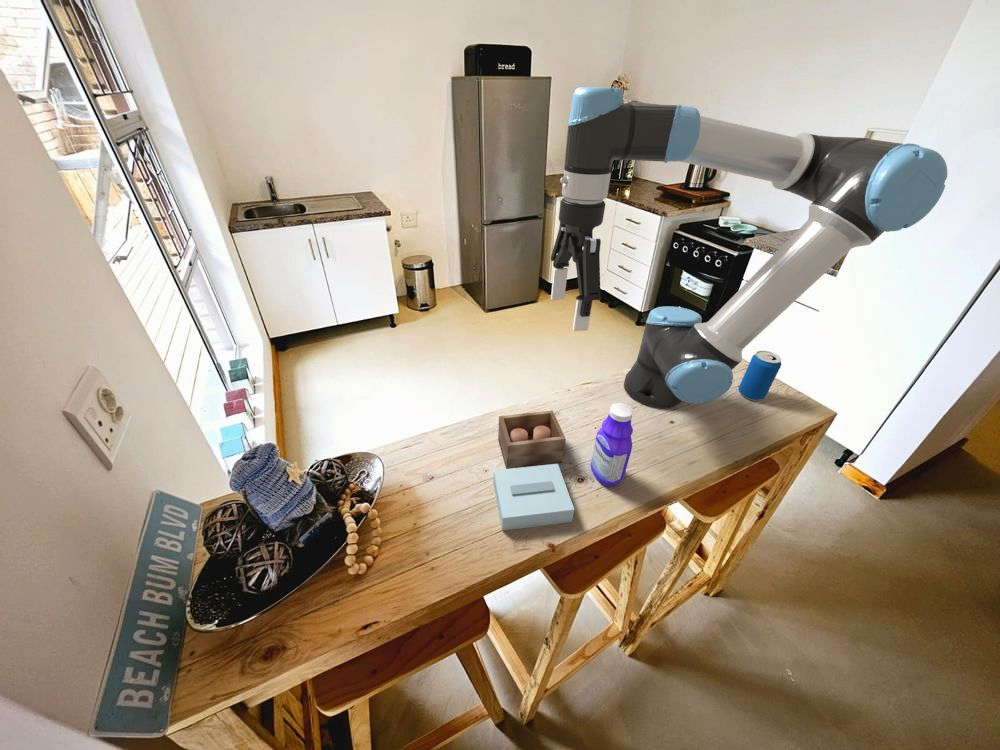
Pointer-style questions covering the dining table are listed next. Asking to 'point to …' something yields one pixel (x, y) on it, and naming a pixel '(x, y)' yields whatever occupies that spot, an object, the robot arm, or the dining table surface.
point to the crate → (530, 439)
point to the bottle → (613, 446)
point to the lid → (532, 497)
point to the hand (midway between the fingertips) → (568, 313)
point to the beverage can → (760, 375)
